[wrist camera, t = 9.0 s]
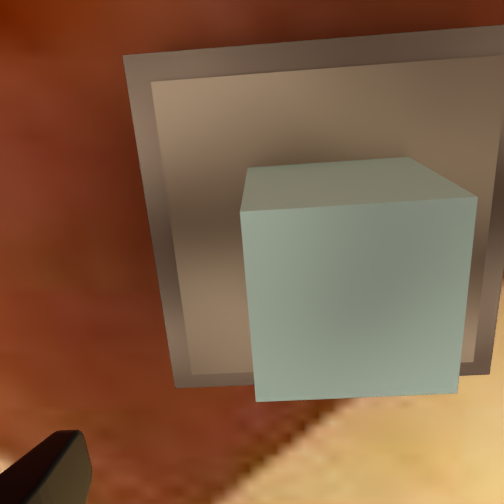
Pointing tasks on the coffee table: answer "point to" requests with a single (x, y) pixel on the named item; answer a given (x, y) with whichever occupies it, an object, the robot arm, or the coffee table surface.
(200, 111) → the pedestal
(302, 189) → the sage block
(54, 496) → the robot arm
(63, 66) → the coffee table surface
